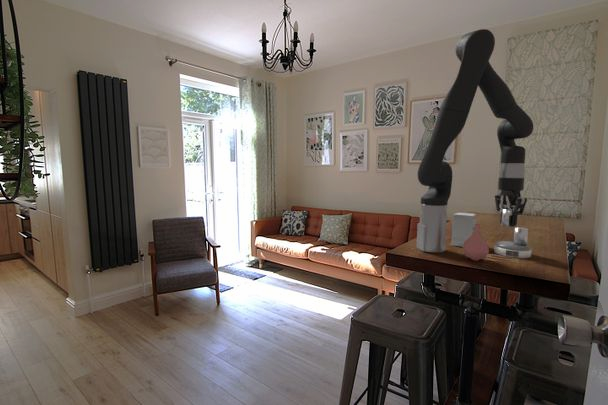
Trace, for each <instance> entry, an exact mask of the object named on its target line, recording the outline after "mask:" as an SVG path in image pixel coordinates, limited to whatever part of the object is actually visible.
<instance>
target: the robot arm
mask: <svg viewBox="0 0 608 405" xmlns="http://www.w3.org/2000/svg"><path fill="white" fill-rule="evenodd" d="M495 45H496V39H495V36H494V34H493V32H492V31H491V30H489V29H484V28H480V29H476V30H473V31H470V32H467V33H465V34H463V35H462V36H461V37H460V38H459V40H458V41H457V42H456V45H455V56H456V57H457V59H458V60H459V61H460V64H459V65H460V66H459V69H458V72H457V73H456V74H457V75H456V77H455V79H454V81H453V83H452V84H451V87H450V88H449V89H448V91H447V93H446V94H445V95H444V98H443V100H442V102H441V104H440V108H439V111H438V114H437V117H436V120H435V124H434V127H433V130H432V133H431V136H430V139H429V141H428V144H427V148H426V149H425V152H424V154H423V157H422V158H421V162H420V163H419V166H418V170H417V180H418V182H419V183H420V185H422V186H424V187H428V190H427V191H426V193H424V194H423V195H422V196H421V197H420V208H419V209H420V212H419V213H420V214H419V222H418V223H417V226H416V227H417V228H416V234H417V235H416V249H418V250H420V251H421V252H427V253H444V252H446V240H447V239H446V238H447V218H448V216H447V215H448V205H449V204H448V203H449V202H448V201H449V199H450V197H451V195H452V194H451V192H452V185H453V169H452V167H451V165H450V163H449V162H447V161H444V158H445V155H446V153H447V151H448V149H449V147H450V146H451V145H452V143H453V142H454V141H455V139H456V138H458V136H459V135H460V133H461V132H462V131H463V129H464V127H465V125H466V124H467V119H468V117H469V114H470V110H471V107H472V105H473V102H474V99H475V97H476V93H477V90H478V88H479V90H480V91H481V93H482V95H483V96H484V98H485V100H486V102H487V104H488V106H489V108H490V110H491V112H492V114H493V116H494V117H495V118H497V119H500V120H501V119H503V120H502V121H501V122H500V123H499V125H498V127H497V130H496V134H497V141H498V145H499V149H500V152H501V153H500V165H499V169H498V170H499V172H498V182H497V183H498V184H497V185H498V186H497V189H498V190H499V191H500V194H496V195H495V196H494V201H495V208H496V211H497V212H499V214H500V223H499V224H501V225H502V210H503V209H509V213H510V216H509V226H515V227H517V224H518V223H517V222H518V216H520V215H523V213H524V210H525V208H526V206H527V205H526V204H527V201H528V199H527V198H526V197H522V195H521V191H523V190H524V189H525V175H526V168H525V165H526V164H525V162H526V148H525V147H524V146H522V145H521V146H520V145H517V144H516V142H515V140H519V139H526V138H528V137H530V136H531V135H532V133H533V131H534V123H533V120H532V118H531V117H530V116H529V115H528V113H526V111H525V110H523V108H522V107H520V106H519V105H518V104H517V101H516V100H515V98H514V95H513V93H512V91H511V90H510V88H509V87H508V85H507V83H506V82H505V81H504V80H503V79H502V78H501V77H500V75H499V74H498V73H497V72H496V71H495V69H494V68H493V67H492V64H491V63H490V59H491V56H492V55H493V52H494V49H495ZM513 209H514V212H513Z"/></svg>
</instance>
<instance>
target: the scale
mask: <svg viewBox="0 0 608 405" xmlns="http://www.w3.org/2000/svg"><path fill="white" fill-rule="evenodd" d="M513 243H514V241H511V240H510V241H507V240H499V241H495V244H494V248H493V253H494V254H496V255H500V256H503V257H508V258H514V257H515V258H514V259H528V258H532V250H533V249H532V245H529V244H527V246H518V245H514V244H513Z"/></svg>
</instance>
